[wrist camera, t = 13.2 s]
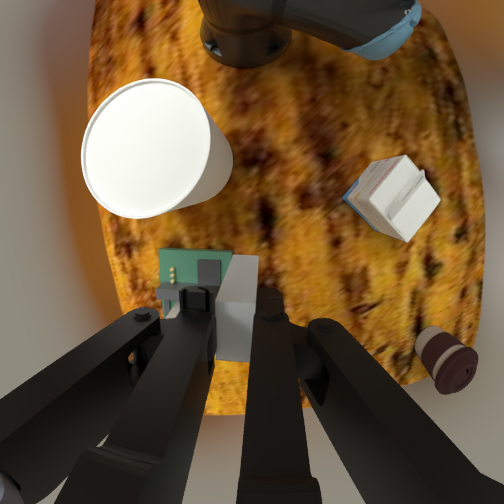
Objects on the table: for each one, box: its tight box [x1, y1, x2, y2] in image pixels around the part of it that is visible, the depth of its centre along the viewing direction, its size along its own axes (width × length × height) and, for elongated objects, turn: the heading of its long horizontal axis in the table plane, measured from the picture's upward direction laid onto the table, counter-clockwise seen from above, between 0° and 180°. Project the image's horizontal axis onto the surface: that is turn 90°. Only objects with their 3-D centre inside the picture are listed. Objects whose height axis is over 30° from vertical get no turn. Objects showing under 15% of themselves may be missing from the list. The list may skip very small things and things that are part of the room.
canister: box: [81, 79, 233, 219], centre depth 32 cm, size 14×14×20 cm
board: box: [156, 248, 232, 319], centre depth 44 cm, size 16×12×5 cm
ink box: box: [342, 155, 441, 242], centre depth 36 cm, size 9×8×13 cm
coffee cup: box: [415, 326, 478, 395], centre depth 41 cm, size 10×10×15 cm
